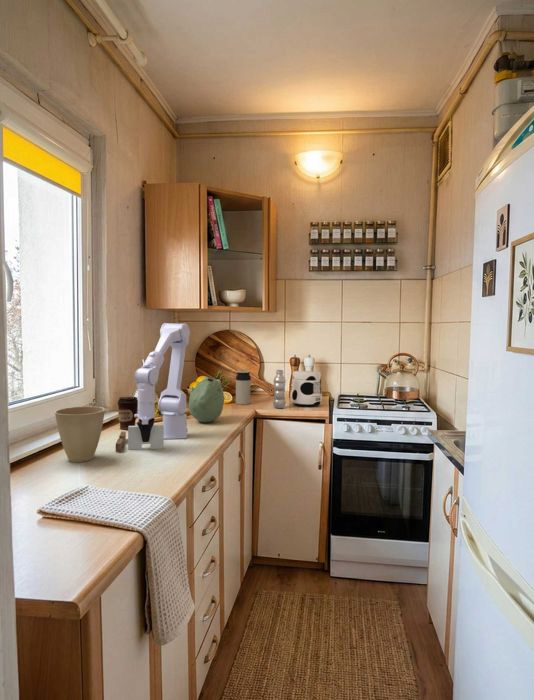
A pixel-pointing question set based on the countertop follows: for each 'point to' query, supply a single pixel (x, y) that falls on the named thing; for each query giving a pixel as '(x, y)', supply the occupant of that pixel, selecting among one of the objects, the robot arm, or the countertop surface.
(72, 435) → the plant pot
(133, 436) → the grey arch block
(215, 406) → the green faceted ovoid
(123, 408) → the coffee cup
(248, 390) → the travel mug
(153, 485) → the countertop surface
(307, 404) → the milk container
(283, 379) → the plastic bottle
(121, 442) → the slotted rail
